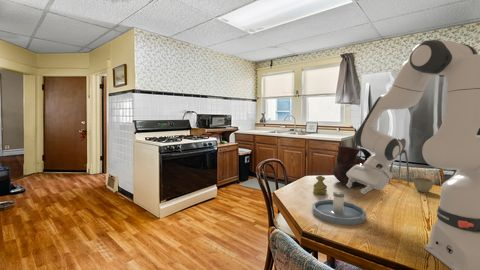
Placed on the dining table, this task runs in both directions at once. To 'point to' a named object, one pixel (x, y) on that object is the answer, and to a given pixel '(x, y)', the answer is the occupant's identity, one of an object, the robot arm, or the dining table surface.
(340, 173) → the jug
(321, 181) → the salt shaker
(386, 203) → the dining table surface
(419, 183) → the flower pot
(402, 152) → the juicer
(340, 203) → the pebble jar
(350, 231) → the dining table surface
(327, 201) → the dish
